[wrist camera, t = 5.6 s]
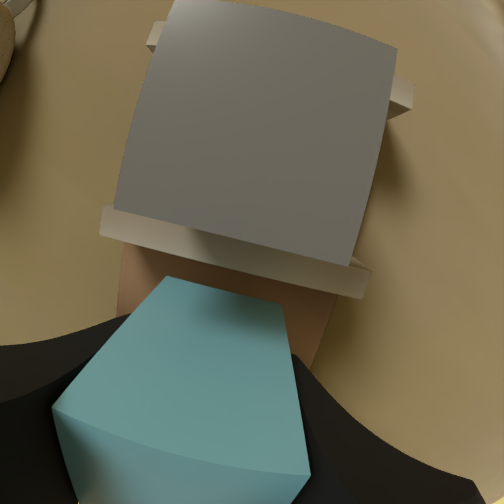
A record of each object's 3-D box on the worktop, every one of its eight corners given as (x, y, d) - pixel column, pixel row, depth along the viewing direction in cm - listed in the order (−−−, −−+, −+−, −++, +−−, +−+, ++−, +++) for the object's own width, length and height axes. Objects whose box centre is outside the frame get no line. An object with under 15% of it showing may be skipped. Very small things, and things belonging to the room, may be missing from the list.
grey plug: (296, 219, 12) (348, 267, 5) (194, 193, 12) (112, 209, 5) (321, 119, 11) (397, 49, 4) (219, 94, 11) (175, -3, 4)
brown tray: (293, 393, 14) (300, 438, 11) (120, 350, 14) (92, 387, 11) (380, 104, 11) (415, 84, 8) (177, 54, 11) (155, 21, 8)
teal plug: (252, 393, 11) (248, 554, 4) (153, 369, 11) (82, 512, 4) (281, 304, 10) (310, 475, 4) (166, 275, 10) (51, 406, 3)
